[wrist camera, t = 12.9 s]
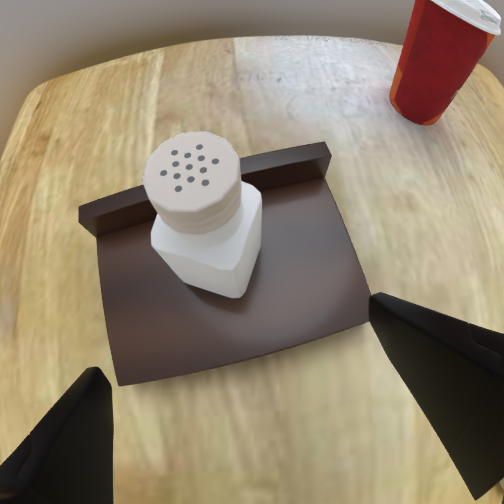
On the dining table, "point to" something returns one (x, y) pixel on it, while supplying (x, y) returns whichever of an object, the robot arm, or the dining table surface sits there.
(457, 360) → the robot arm
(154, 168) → the pepper shaker
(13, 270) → the dining table surface
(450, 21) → the coffee cup
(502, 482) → the bread roll
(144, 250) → the spice rack
